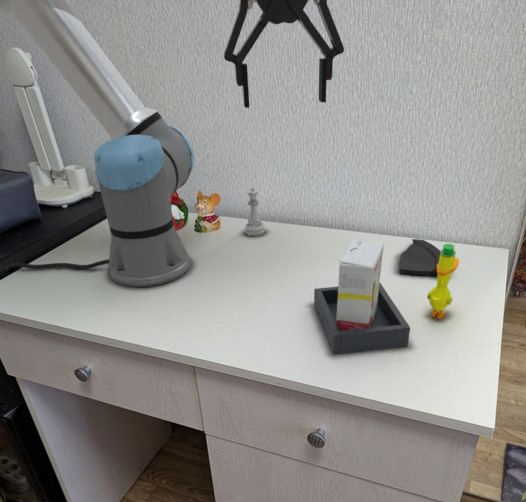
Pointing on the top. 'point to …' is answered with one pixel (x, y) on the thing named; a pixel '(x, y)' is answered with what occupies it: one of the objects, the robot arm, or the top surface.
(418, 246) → the dark sector wedge
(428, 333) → the top surface
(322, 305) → the dark gray rectangular tray
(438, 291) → the toy figure
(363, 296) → the ink box
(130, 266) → the robot arm
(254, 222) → the chess piece
